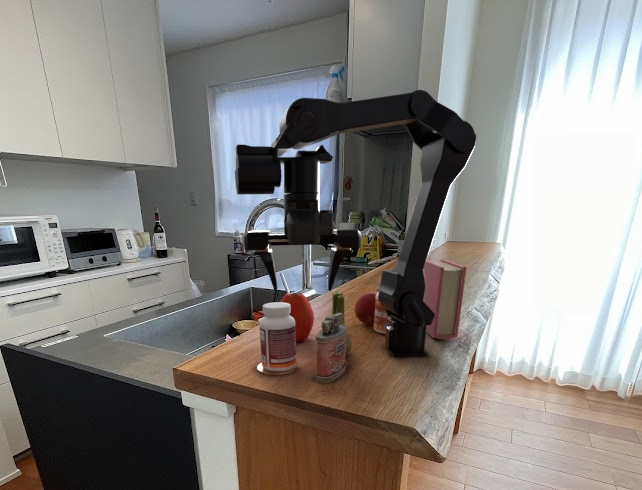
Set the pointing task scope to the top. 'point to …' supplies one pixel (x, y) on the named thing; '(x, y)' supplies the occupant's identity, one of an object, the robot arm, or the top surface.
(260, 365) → the gold disc
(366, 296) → the apple
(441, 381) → the top surface
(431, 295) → the book
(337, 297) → the fennel bulb
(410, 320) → the robot arm
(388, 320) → the pill bottle
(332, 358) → the lighter
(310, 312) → the apple
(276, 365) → the pill bottle
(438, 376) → the top surface
